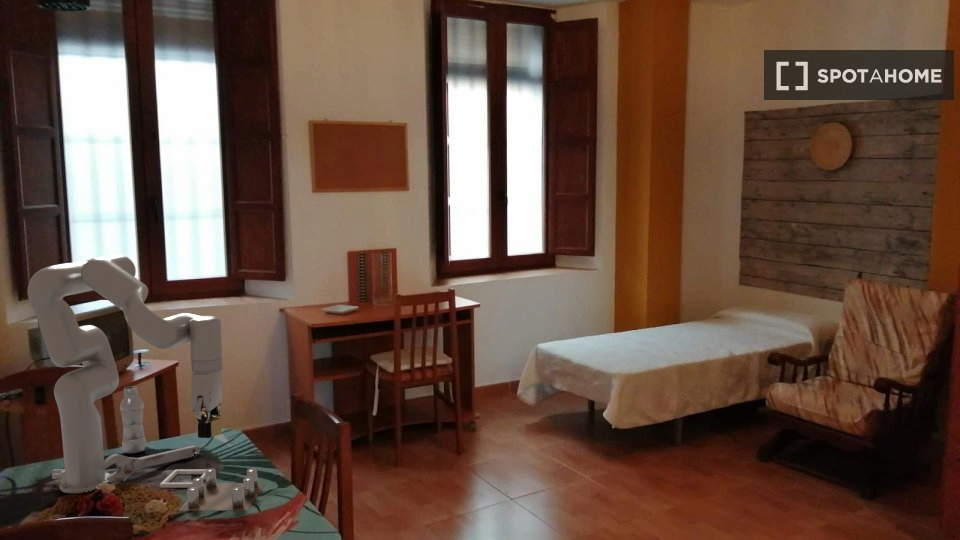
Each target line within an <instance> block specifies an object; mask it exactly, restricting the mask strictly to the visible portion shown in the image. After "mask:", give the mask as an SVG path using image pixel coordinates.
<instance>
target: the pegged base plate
mask: <svg viewBox="0 0 960 540" xmlns="http://www.w3.org/2000/svg"><path fill="white" fill-rule="evenodd" d="M205 478H206V479H205V482H204V481H203V478H201V476H200V477H196V478H193V479H192V483H193V487H191V488H187V489H186V494H187V500H188V508H190V509H194V508H197V507H199V498H202V497H204V483H206V488H207V489H212V488H215V487H216V483H217V471H216V468H207V470H205ZM242 483H243V486H244V498H252V497H254V496H255V493H254V488H256V487H258V483H259V482H258V469H257V468H256V467H255V468H254V467H252V468H248V469H247V470H246V477H244V478H243V479H242ZM231 492H232V508H235V509H238V508H241V507H243V491H242V487H234V488H232V489H231Z"/></svg>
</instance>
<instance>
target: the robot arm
mask: <svg viewBox="0 0 960 540" xmlns="http://www.w3.org/2000/svg"><path fill="white" fill-rule="evenodd" d="M136 272H137V271H136V266H135V264H134V262H133V261H132V259H130V257H128V256H126V255H125V254H117V253H116V254H108V255H101V256H96V257H94V258H91V259H86V260H79V261H74V262H65V263H59V264H54V265H50V266H49V265H48V266H46V267H44V268H41V269H39V270H38V271H35V273H34V274H33V275H32V277H31V278H30V279H29V282H28V286H27V297H28V301H29V303H30V306H31V308H32V310H33V312H34V314H35V316H36V318H37V321H38V323H39V327H40V331H41V334H42V337H43V342H44V344H45V347H46V351H47V353H48V356H49V358H50V361H51V362H52V363H53V365H55V366H56V367H59V368H67V367H72V366H76V365H79V364H82V366H83V367H80V368H76V369H73V370H71V371H69V372H67V373H65V374H63V375H62V376H61V377H59V378H58V380H57V381H56V382H55V385H54V388H53V395H54V398H55V402H56V405H57V409H58V414H59V418H60V419H59V420H60V426H61V438H62V439H61V440H62V450H63V463H64V465H63V466H64V468H54V469H52V471H51V480H52V479H53V480H59V479H60V480H61V482H60V483H59V484H58V485H59V490H60V492H62V493H65V494H83V492H85V493H89V492H88V491H90V492H93V491H92V490H94V489H95V488H96V486H97V485H98V484H101V483H106V482H110V483H111V482H112V481H110V480H107V478H106V477H107V476H109V475H110V474H111V473H110V472H108V471H107V472H106V470H105V468H102V464H103V462H104V460H105V454H104V440H103V439H104V438H103V427H102V425H103V424H102V418H101V415H100V412H99V410H98V408H97V407H96V405H95V401H97V400H99V399H102V398H104V397H106V396H109V395H111V394H112V393H114V392H115V390H117V388H118V386H119V382H120V375H119V371H118V368H117V363H116V362H115V358H114V355H113V352H112V351H113V350H112V348H111V345H110V342H109V339H108V337H107V335H106V334H105V332H104V331H103V330H102V329H101V328H99V327H97V326H95V325H92V324H85V325H81V326H79V323H78V321H77V317H76V314H75V312H74V310H73V309H72V307H71V305H69V304H68V303H67V302H66V301H65V300H64V298H65V297H67V296H73V295H77V294H82V293H88V292H92V291H94V292H96V293H97V294H99V295H100V296H102V297H103V298H104V299H105V300H107V301H109V303H111V304H113V306H115V307H117V308H118V309H119V310H120V311H122V312H123V316H124V319H125V321H126V323H127V325H128V327H129V328H130V330H131V331H132V332H133V333H134V334H135V335H136V336H138V337H139V338H141V339H142V340H143V341H145V342H146V343H148V344H149V345H151V346H153V347H155V348H157V349H162V350H167V349H168V350H169V349H172V348H174V347H177V346H179V345H183V344H185V343H189V345H190V347H189V348H190V349H189V350H190V369H191V370H190V372H191V374H192V375H191V380H190V381H191V383H190V384H191V385H190V410H191V411H192V412H194V417H195V419H196V424H197V423H198V434H197V437H198V438H199V439H210V438H212V437H211V422H209V418H210V415H220V416H221V403H222V401H223V380H222V370H223V369H224V368H223V347H222V346H223V345H222V343H223V342H222V322H221V320H220V319H221V318H219V317H218V316H214V315H197V314H193V313H190V312H189V313H188V312H182V313H178V314H174V315H171V316H167V317H164V318H163V317H160V316H159V315H157V313H155V312H154V311H152V310H151V309H150V308H148V307H147V305H146V304H145V302H146V299H147V297H148V294H149V288H148V286H147V285H146V284H145V283H144V282H142V281H140V280H139V279H137V277H136ZM203 409H205V410H203ZM205 415H206V417H205ZM94 491H95V490H94Z"/></svg>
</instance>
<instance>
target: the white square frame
mask: <svg viewBox="0 0 960 540" xmlns="http://www.w3.org/2000/svg"><path fill="white" fill-rule="evenodd" d="M207 469H208V468H207ZM207 469H205V468H204V469H201V468H200V469H195V468H194V469H187V468H186V469H174V470H173V471H172V472H171V473H170V474H169V475H168V476H167V477H166V478H164V480H162V481H161V482H160V484H159V487H160V489H161V488H166V489H168V488H170V489H172V488H173V489H175V488H178V489H179V488H180V489H182V488H184V489H186V488H187V489H188V488H191V487H193V482H171V481H172V480H173V479H174V478H175V477H176V476H177V475H201V476H200V477H201V478H203V482H204V481H206V478H205V470H207Z"/></svg>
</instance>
